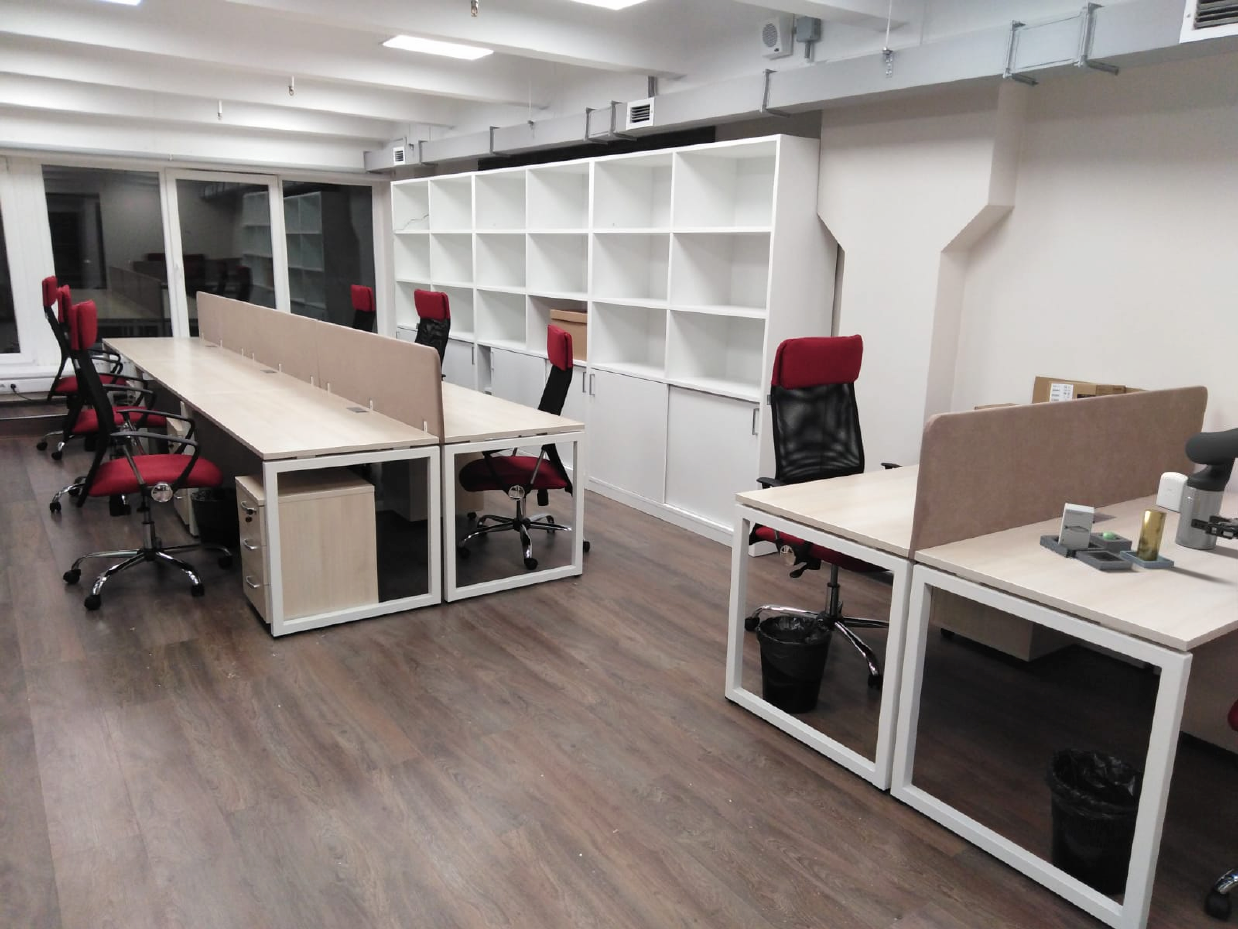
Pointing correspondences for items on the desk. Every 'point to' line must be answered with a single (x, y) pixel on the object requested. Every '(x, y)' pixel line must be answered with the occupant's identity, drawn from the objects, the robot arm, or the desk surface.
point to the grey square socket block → (1112, 542)
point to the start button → (1109, 535)
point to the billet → (1151, 535)
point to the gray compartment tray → (1087, 554)
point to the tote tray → (1146, 564)
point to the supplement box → (1076, 526)
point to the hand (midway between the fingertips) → (1200, 520)
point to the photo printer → (1171, 491)
